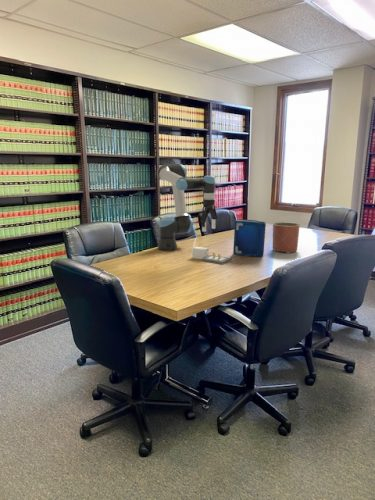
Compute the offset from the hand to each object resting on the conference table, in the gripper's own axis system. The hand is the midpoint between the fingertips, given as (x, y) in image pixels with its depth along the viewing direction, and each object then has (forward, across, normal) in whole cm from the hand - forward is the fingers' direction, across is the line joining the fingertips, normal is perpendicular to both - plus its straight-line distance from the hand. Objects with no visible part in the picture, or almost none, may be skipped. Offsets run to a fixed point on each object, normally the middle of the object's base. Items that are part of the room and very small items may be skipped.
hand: (208, 230), depth 254 cm
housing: (+19, -6, +3) cm, 20 cm away
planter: (+19, +45, -40) cm, 63 cm away
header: (+19, -7, -10) cm, 22 cm away
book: (+19, +18, -23) cm, 35 cm away
